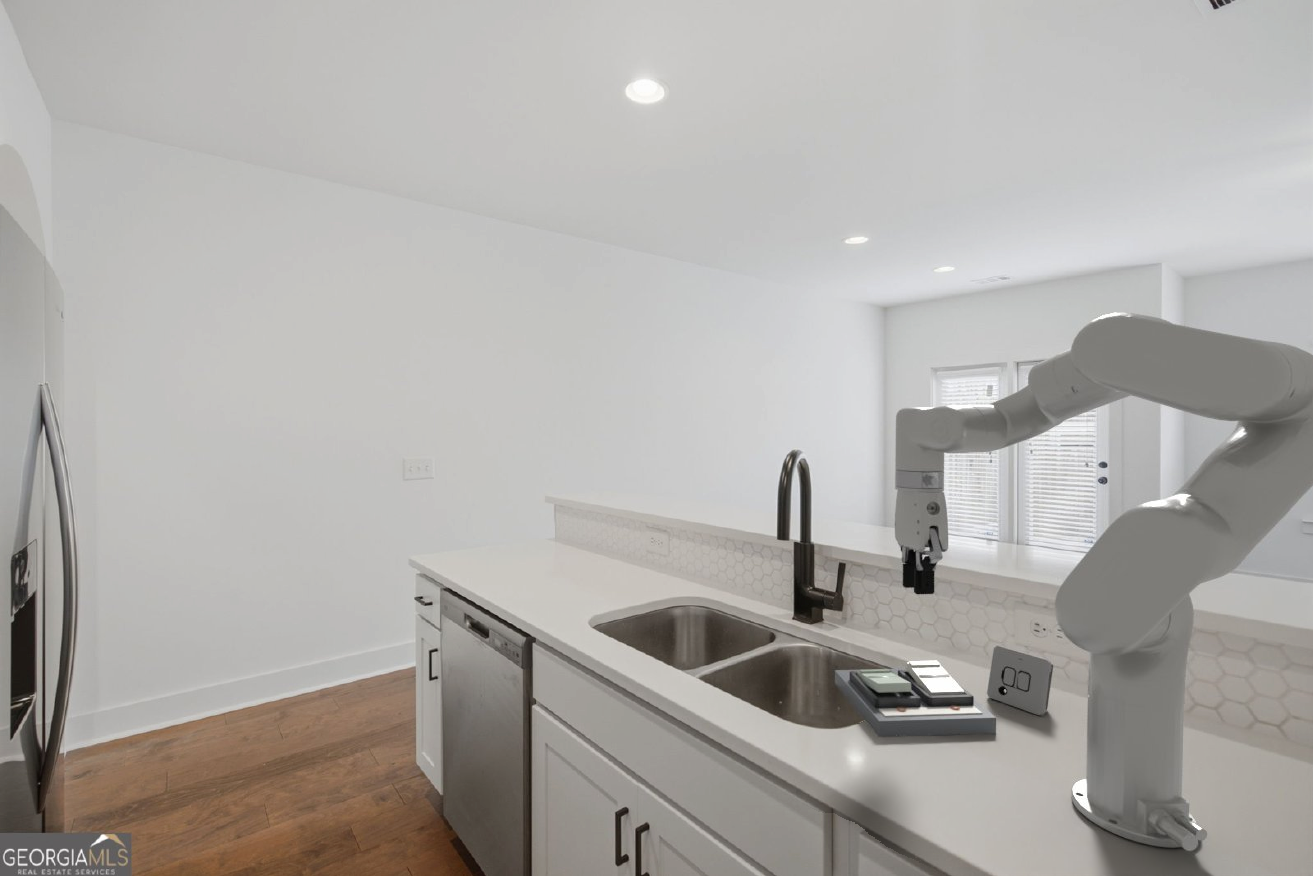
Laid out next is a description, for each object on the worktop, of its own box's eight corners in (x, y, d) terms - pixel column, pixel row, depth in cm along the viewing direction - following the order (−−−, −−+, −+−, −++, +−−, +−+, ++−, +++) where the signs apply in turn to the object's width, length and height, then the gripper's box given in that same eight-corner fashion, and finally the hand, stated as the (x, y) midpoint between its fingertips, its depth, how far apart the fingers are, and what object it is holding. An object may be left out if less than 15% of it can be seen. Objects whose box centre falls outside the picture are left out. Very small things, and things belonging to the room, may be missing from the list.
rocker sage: (911, 692, 104) (910, 680, 104) (878, 693, 103) (877, 681, 104) (888, 680, 113) (887, 668, 113) (858, 680, 112) (857, 669, 112)
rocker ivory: (962, 699, 105) (964, 689, 104) (930, 700, 104) (931, 690, 104) (936, 669, 113) (937, 659, 113) (906, 670, 113) (907, 660, 113)
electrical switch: (985, 698, 112) (989, 645, 112) (1000, 693, 115) (1003, 642, 115) (1042, 718, 104) (1045, 662, 104) (1056, 713, 107) (1059, 658, 107)
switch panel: (996, 733, 99) (996, 708, 99) (879, 737, 98) (879, 711, 98) (932, 680, 119) (932, 660, 119) (834, 683, 118) (834, 662, 118)
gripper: (968, 486, 96) (967, 604, 97) (917, 476, 113) (916, 577, 113) (921, 486, 96) (920, 605, 96) (876, 477, 112) (876, 578, 113)
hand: (918, 589), depth 105 cm, fingers open, 3 cm apart
